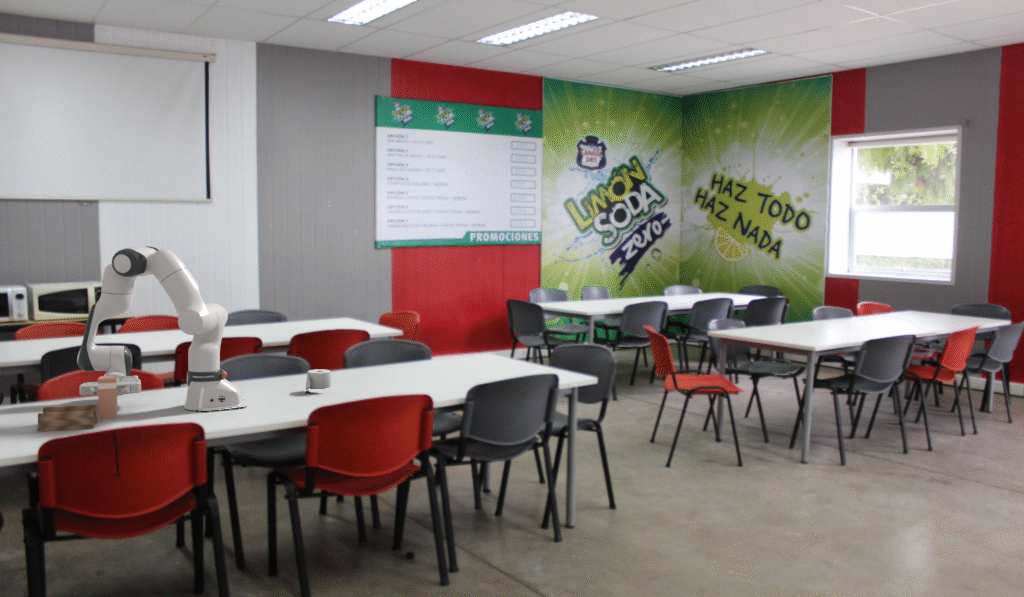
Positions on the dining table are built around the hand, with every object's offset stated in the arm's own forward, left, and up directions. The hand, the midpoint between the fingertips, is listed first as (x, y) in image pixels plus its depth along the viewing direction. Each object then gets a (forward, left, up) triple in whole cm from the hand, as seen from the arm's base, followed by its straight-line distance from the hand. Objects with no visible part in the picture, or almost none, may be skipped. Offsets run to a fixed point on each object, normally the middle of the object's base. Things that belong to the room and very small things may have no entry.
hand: (108, 392), depth 282 cm
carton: (0, +4, -8) cm, 9 cm away
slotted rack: (+11, +15, -8) cm, 20 cm away
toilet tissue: (-76, -21, -8) cm, 79 cm away
